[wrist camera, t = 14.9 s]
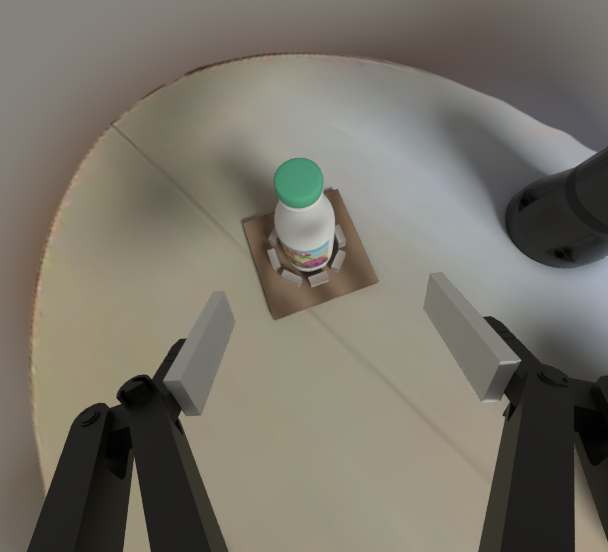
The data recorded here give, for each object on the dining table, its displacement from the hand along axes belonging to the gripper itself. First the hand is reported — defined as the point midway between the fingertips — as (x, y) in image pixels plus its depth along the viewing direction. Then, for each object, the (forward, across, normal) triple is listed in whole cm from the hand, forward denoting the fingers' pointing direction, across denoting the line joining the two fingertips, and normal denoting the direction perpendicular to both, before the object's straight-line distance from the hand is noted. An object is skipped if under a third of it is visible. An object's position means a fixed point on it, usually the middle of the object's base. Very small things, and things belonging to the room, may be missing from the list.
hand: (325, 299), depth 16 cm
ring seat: (+26, -2, -9) cm, 28 cm away
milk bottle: (+25, -2, -8) cm, 26 cm away
